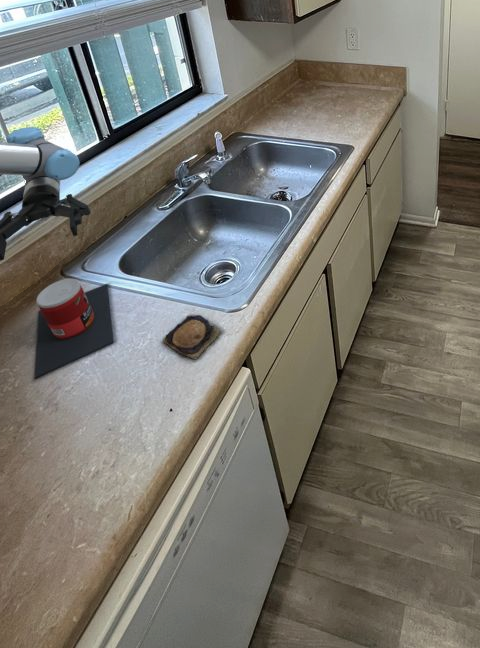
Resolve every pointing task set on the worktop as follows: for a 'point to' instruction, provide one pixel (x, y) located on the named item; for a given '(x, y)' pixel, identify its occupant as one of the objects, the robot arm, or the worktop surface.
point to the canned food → (65, 308)
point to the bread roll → (192, 336)
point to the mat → (68, 350)
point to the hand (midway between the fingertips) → (37, 243)
